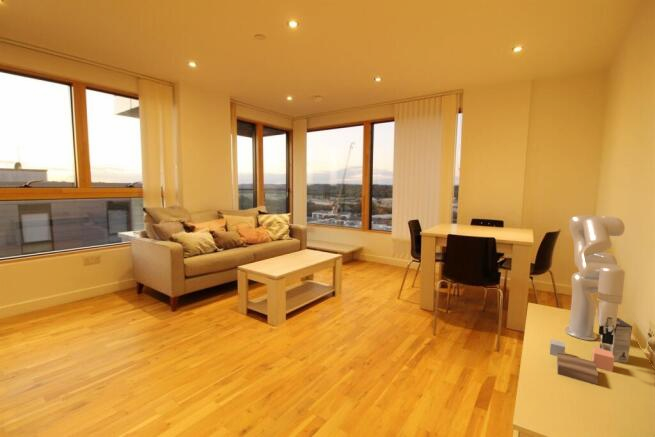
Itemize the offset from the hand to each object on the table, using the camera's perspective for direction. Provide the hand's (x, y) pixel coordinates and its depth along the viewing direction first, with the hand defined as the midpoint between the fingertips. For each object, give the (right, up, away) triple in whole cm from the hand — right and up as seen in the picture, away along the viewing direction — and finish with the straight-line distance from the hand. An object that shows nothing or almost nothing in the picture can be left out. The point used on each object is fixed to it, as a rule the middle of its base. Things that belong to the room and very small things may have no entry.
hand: (605, 339), depth 129 cm
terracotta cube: (0, -12, +2) cm, 12 cm away
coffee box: (+12, -11, +10) cm, 19 cm away
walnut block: (-14, -12, -3) cm, 19 cm away
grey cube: (-12, -11, +11) cm, 19 cm away
